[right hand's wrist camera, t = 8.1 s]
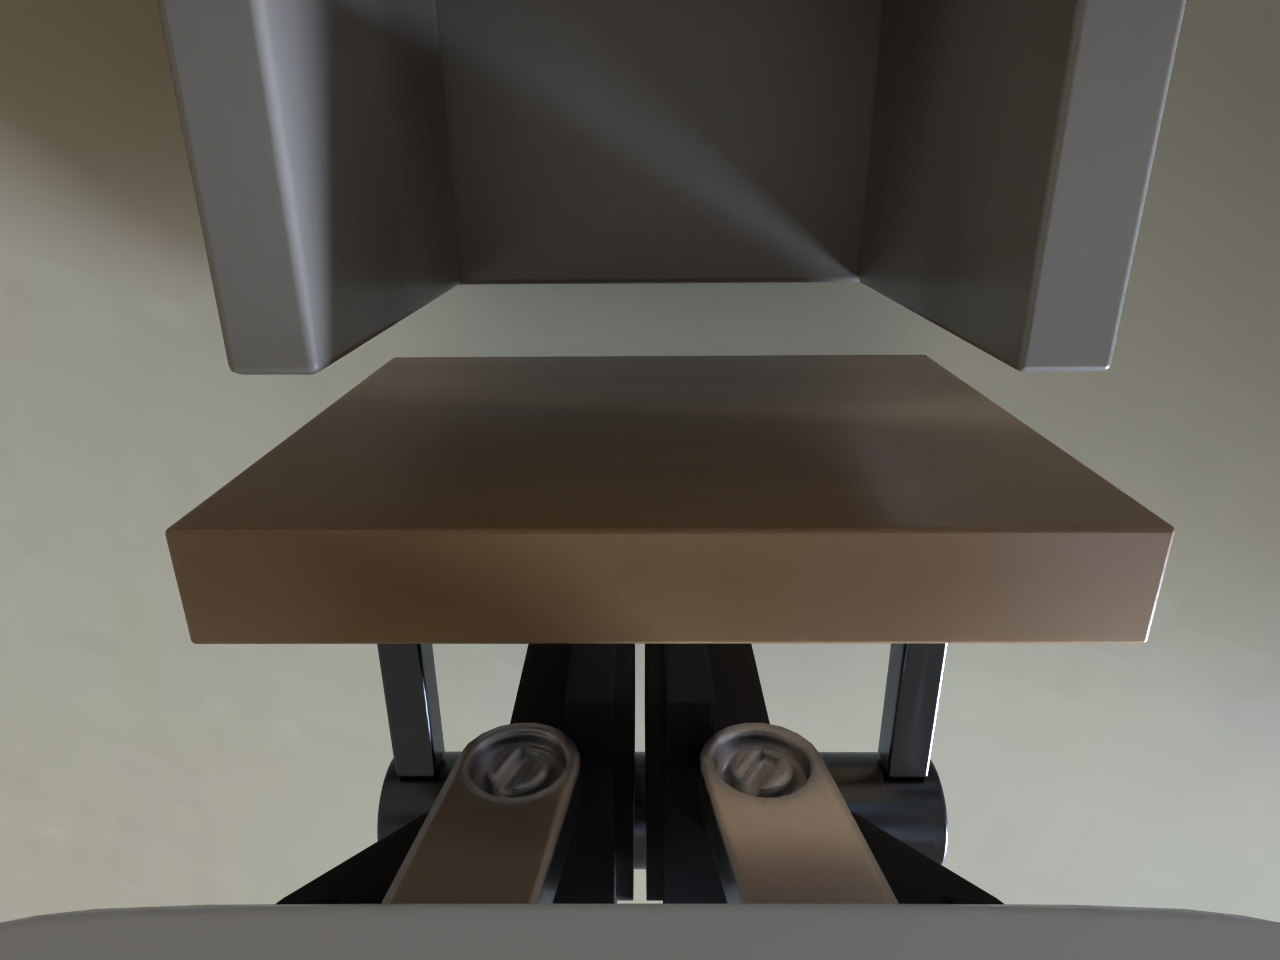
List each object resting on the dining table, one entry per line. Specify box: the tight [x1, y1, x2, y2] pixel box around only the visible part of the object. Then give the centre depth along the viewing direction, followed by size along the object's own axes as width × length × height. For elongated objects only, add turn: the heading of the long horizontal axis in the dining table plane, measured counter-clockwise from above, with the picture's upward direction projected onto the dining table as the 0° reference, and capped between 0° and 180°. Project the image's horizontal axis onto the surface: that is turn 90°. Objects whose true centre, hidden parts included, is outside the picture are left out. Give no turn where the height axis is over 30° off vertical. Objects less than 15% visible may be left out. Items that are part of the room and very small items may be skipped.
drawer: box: [157, 0, 1186, 869], centre depth 9 cm, size 20×9×7 cm, turn 0°
